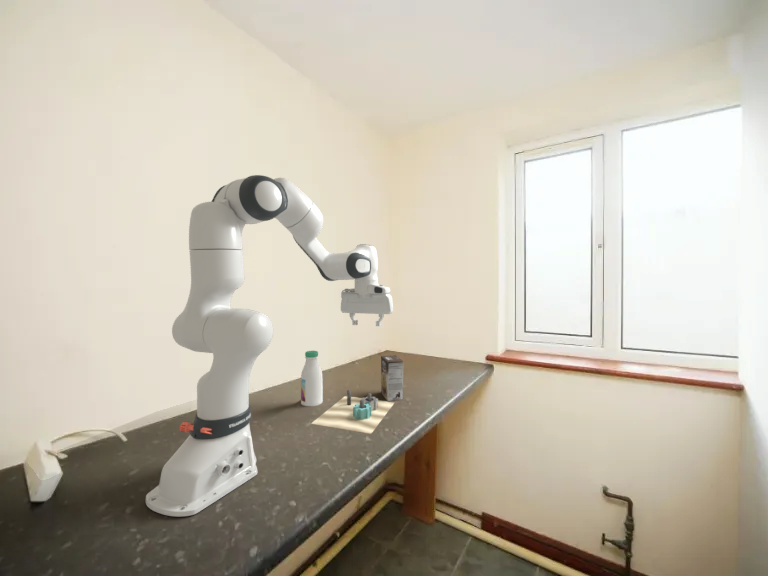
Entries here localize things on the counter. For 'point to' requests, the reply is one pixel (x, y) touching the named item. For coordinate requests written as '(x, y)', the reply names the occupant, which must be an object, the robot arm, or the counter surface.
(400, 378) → the coffee box
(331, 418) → the peg board
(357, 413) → the teal gear
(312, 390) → the milk bottle
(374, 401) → the grey gear
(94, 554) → the counter surface
